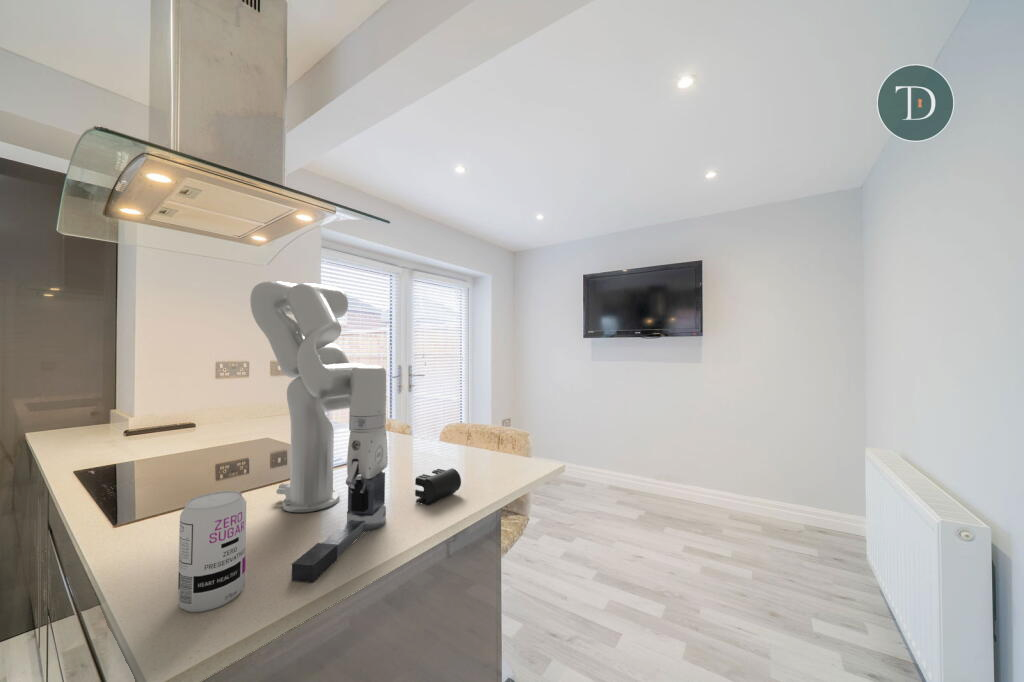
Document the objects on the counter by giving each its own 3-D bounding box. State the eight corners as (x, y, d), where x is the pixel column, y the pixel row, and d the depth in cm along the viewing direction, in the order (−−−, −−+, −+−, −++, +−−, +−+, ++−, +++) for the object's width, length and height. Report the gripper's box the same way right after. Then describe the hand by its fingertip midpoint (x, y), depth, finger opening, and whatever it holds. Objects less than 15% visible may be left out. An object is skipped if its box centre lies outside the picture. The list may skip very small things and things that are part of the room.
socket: (347, 512, 84) (348, 479, 84) (361, 502, 89) (361, 471, 89) (372, 514, 83) (373, 480, 83) (384, 503, 89) (385, 472, 89)
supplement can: (202, 582, 64) (204, 490, 65) (255, 580, 65) (257, 489, 65) (163, 616, 56) (165, 510, 56) (224, 613, 57) (226, 509, 57)
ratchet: (279, 579, 65) (280, 534, 65) (358, 515, 91) (359, 482, 91) (324, 583, 64) (325, 537, 64) (391, 517, 90) (392, 483, 90)
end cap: (434, 509, 94) (435, 480, 95) (413, 502, 98) (414, 475, 98) (461, 496, 103) (461, 469, 103) (440, 490, 107) (441, 465, 107)
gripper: (364, 430, 77) (363, 523, 77) (400, 415, 95) (398, 491, 94) (328, 429, 78) (327, 521, 78) (370, 414, 95) (369, 490, 95)
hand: (366, 504), depth 86 cm, fingers closed on socket, 5 cm apart
